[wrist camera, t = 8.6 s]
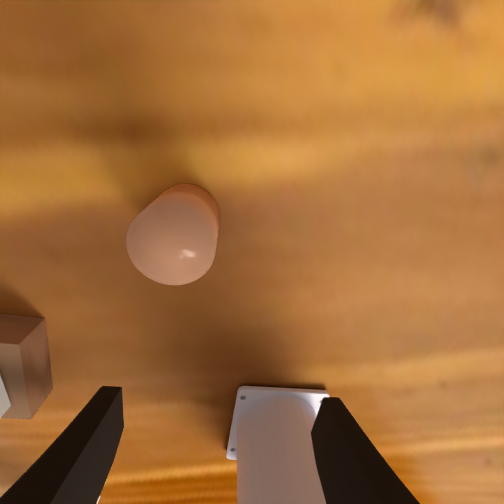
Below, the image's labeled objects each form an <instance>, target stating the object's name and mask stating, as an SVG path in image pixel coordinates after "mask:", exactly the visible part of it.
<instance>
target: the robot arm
mask: <svg viewBox="0 0 504 504" xmlns="http://www.w3.org/2000/svg"><path fill="white" fill-rule="evenodd" d="M123 428H124V420H123V402H122V387H111V386H102V387H101V388H100V389H99V390H98V391H97V392H96V394H95V395H94V396H93V397H92V399H91V400H90V401H89V402H88V403H87V405H86V406H85V407H84V408H83V409H82V411H81V412H80V413H79V414H78V415H77V416H76V418H75V419H74V420H73V421H72V422H71V423H70V424H69V426H68V427H67V428H66V429H65V430H64V431H63V432H62V433H61V435H60V436H59V437H58V438H57V439H56V440H55V441H54V442H53V443H52V444H51V446H50V447H49V448H48V449H47V450H46V451H45V452H44V453H43V454H42V455H41V456H40V458H39V459H38V460H37V461H36V462H35V463H34V464H33V465H32V466H31V467H30V468H29V469H28V470H27V471H26V472H25V473H24V474H23V475H22V476H21V477H20V478H19V479H18V480H17V481H16V482H15V483H14V484H13V485H12V486H11V487H10V488H9V489H8V490H7V492H6V493H4V494H3V495H2V496H1V497H0V504H96V503H97V501H98V498H99V496H100V494H101V491H102V489H103V486H104V484H105V481H106V479H107V476H108V474H109V471H110V469H111V466H112V464H113V461H114V458H115V454H116V451H117V448H118V445H119V441H120V438H121V435H122V431H123ZM226 457H227V458H228V459H235V460H237V504H420V503H419V502H418V501H417V500H416V498H415V497H414V496H413V495H412V494H411V492H410V491H409V490H408V489H407V487H406V486H405V485H404V484H403V483H402V481H401V480H400V479H399V478H398V476H397V475H396V474H395V473H394V471H393V470H392V469H391V468H390V466H389V465H388V464H387V462H386V461H385V460H384V458H383V457H382V456H381V454H380V453H379V452H378V450H377V449H376V448H375V447H374V445H373V444H372V442H371V441H370V440H369V438H368V437H367V436H366V434H365V433H364V432H363V430H362V429H361V427H360V426H359V425H358V423H357V422H356V420H355V419H354V418H353V416H352V415H351V413H350V412H349V411H348V409H347V408H346V406H345V405H344V404H343V402H342V401H341V400H340V398H335V397H329V393H328V391H326V390H314V389H295V388H276V387H257V386H241V387H239V388H238V391H237V396H236V402H235V407H234V413H233V418H232V424H231V429H230V435H229V440H228V446H227V451H226Z"/></svg>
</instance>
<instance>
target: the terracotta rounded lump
mask: <svg viewBox="0 0 504 504" xmlns="http://www.w3.org/2000/svg"><path fill="white" fill-rule="evenodd" d="M219 223H220V211H219V208H218V205H217V203H216V201H215V199H214V198H213V197H212V196H211V195H210V194H209V193H208V192H207V191H206V190H204V189H203V188H201V187H199V186H196V185H192V184H178V185H175V186H172V187H170V188H168V189H167V190H165V191H164V192H163V193H162V194H161V195H160V196H158V197H157V198H156V199H155V200H154V201H153V202H152V203H151V204H149V205H148V206H147V207H146V208H145V209H144V210H143V211H141V212H140V213H139V214H138V215H137V216H136V217H135V218H134V219H133V221H132V222H131V224H130V226H129V228H128V231H127V235H126V248H127V252H128V255H129V257H130V259H131V261H132V263H133V264H134V266H135V267H136V268H137V269H138V270H139V271H140V272H141V273H142V274H143V275H145V276H146V277H148V278H149V279H151V280H153V281H156V282H158V283H162V284H166V285H183V284H188V283H191V282H193V281H195V280H197V279H199V278H200V277H202V276H203V275H204V274H205V273H206V272H207V271H208V270H209V268H210V267H211V265H212V263H213V260H214V257H215V252H216V244H217V237H218V230H219Z"/></svg>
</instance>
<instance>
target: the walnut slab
mask: <svg viewBox="0 0 504 504" xmlns="http://www.w3.org/2000/svg"><path fill="white" fill-rule="evenodd" d="M0 376H1V378H2V381H3V384H4V387H5V390H6V392H7V395H8V398H9V401H10V404H11V406H10V407H9V409H8V410H7V411H6V412H5V413H4V415H3V416H2V417H1V418H16V419H31V420H32V418H33V417H34V415H35V414H36V412H37V411H38V409H39V408H40V407H41V405H42V404H43V402H44V401H45V399H46V398H47V397H48V395H49V394H50V392H51V391H52V389H53V384H52V375H51V366H50V357H49V349H48V340H47V331H46V322H45V318H37V317H28V316H19V315H11V314H2V313H0Z"/></svg>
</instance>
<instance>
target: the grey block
mask: <svg viewBox="0 0 504 504" xmlns="http://www.w3.org/2000/svg"><path fill="white" fill-rule="evenodd" d="M10 406H11V404H10V401H9V398H8V395H7V392H6V390H5V387H4V384H3V381H2V378H1V376H0V418H1V417H2V416H3V415H4V413H5V412H6V411H7V410H8V409H9V407H10Z"/></svg>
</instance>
